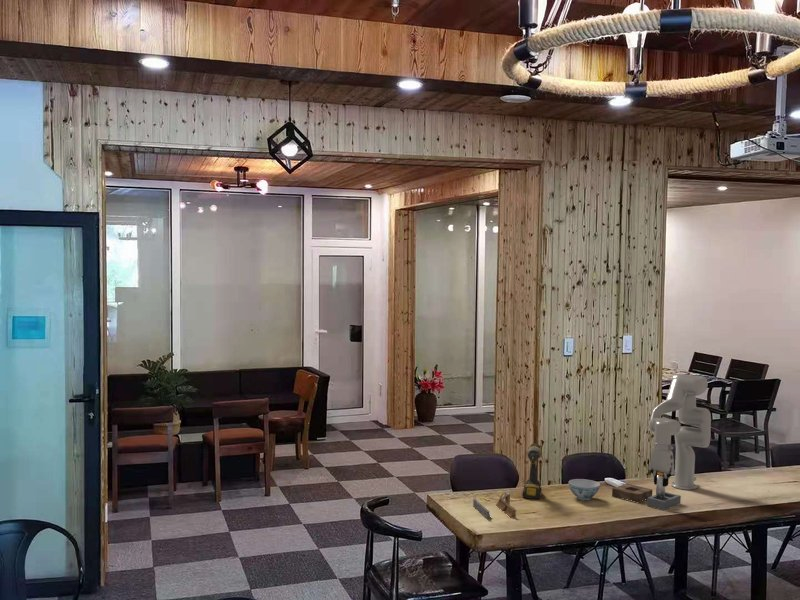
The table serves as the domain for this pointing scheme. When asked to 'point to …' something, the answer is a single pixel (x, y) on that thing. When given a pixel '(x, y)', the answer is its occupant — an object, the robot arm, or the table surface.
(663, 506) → the gray cinder block
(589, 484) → the chinaware
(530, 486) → the power drill
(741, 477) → the table surface
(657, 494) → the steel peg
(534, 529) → the table surface
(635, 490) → the socket block
